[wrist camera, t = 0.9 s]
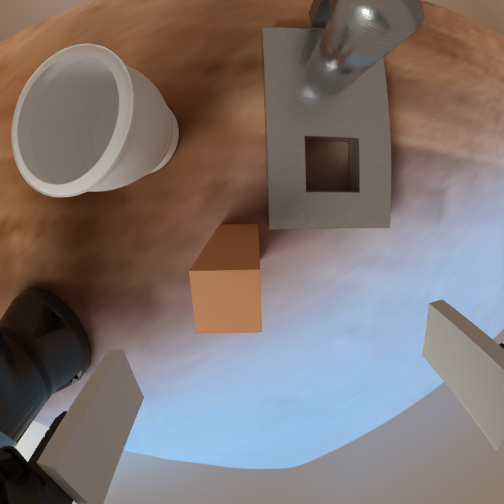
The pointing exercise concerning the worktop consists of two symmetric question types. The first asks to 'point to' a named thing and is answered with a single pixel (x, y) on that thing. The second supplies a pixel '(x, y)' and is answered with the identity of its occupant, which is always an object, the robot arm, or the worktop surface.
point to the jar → (90, 124)
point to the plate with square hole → (332, 110)
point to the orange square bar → (228, 281)
